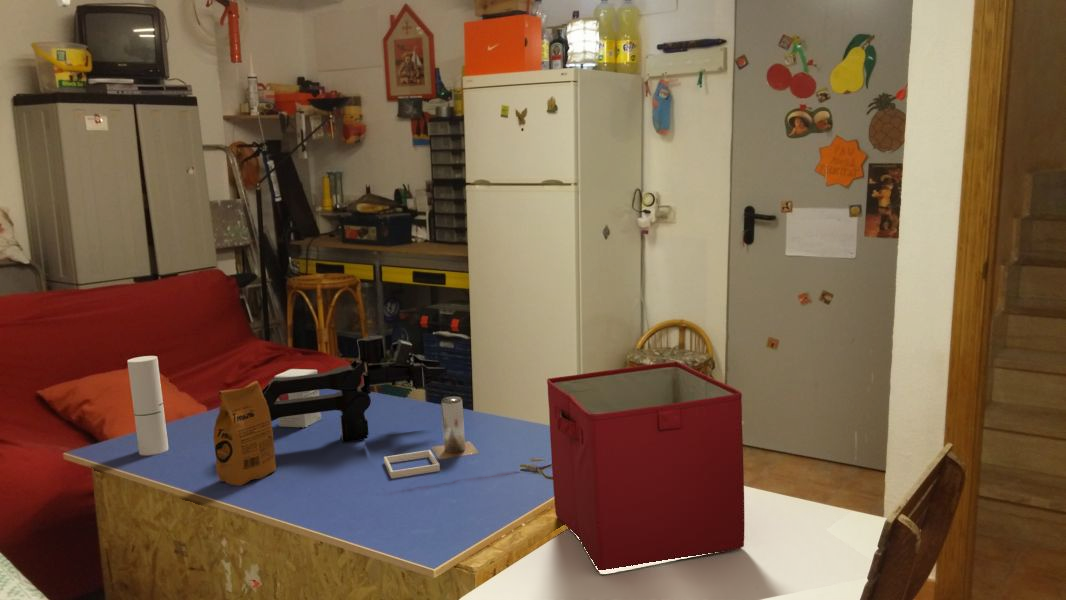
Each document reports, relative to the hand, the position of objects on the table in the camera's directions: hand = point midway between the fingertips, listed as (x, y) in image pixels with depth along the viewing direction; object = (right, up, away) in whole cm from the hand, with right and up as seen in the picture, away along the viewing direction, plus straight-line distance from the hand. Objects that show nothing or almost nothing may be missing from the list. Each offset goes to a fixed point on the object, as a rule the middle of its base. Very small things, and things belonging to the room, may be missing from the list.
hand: (443, 366), depth 227 cm
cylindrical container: (-76, -22, -7) cm, 79 cm away
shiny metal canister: (+5, -19, -22) cm, 30 cm away
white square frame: (-4, -22, -32) cm, 39 cm away
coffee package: (-43, -24, -30) cm, 58 cm away
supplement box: (-42, -17, +12) cm, 47 cm away
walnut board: (+5, -20, -22) cm, 30 cm away
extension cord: (+30, -21, -36) cm, 52 cm away
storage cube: (+46, -26, -72) cm, 89 cm away
